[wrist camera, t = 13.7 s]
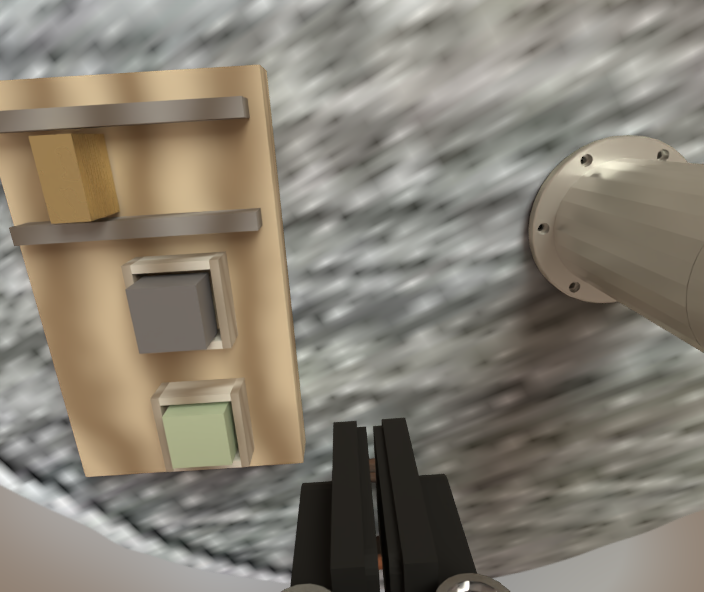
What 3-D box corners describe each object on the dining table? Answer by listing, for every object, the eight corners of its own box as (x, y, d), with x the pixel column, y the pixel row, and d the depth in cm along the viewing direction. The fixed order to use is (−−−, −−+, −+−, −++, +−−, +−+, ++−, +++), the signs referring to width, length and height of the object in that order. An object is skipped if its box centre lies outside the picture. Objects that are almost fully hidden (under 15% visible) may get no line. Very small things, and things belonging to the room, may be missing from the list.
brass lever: (103, 133, 31) (70, 133, 27) (120, 211, 33) (91, 221, 29) (66, 136, 31) (28, 136, 27) (84, 213, 33) (51, 223, 29)
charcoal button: (208, 272, 33) (195, 285, 30) (217, 331, 34) (206, 349, 31) (143, 276, 33) (125, 289, 30) (156, 335, 34) (139, 353, 31)
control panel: (266, 70, 33) (253, 59, 28) (305, 440, 43) (300, 482, 37) (4, 86, 33) (-57, 78, 28) (102, 454, 42) (70, 497, 37)
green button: (232, 392, 37) (223, 413, 34) (239, 440, 38) (232, 464, 36) (175, 395, 37) (161, 417, 34) (185, 443, 38) (172, 468, 36)
